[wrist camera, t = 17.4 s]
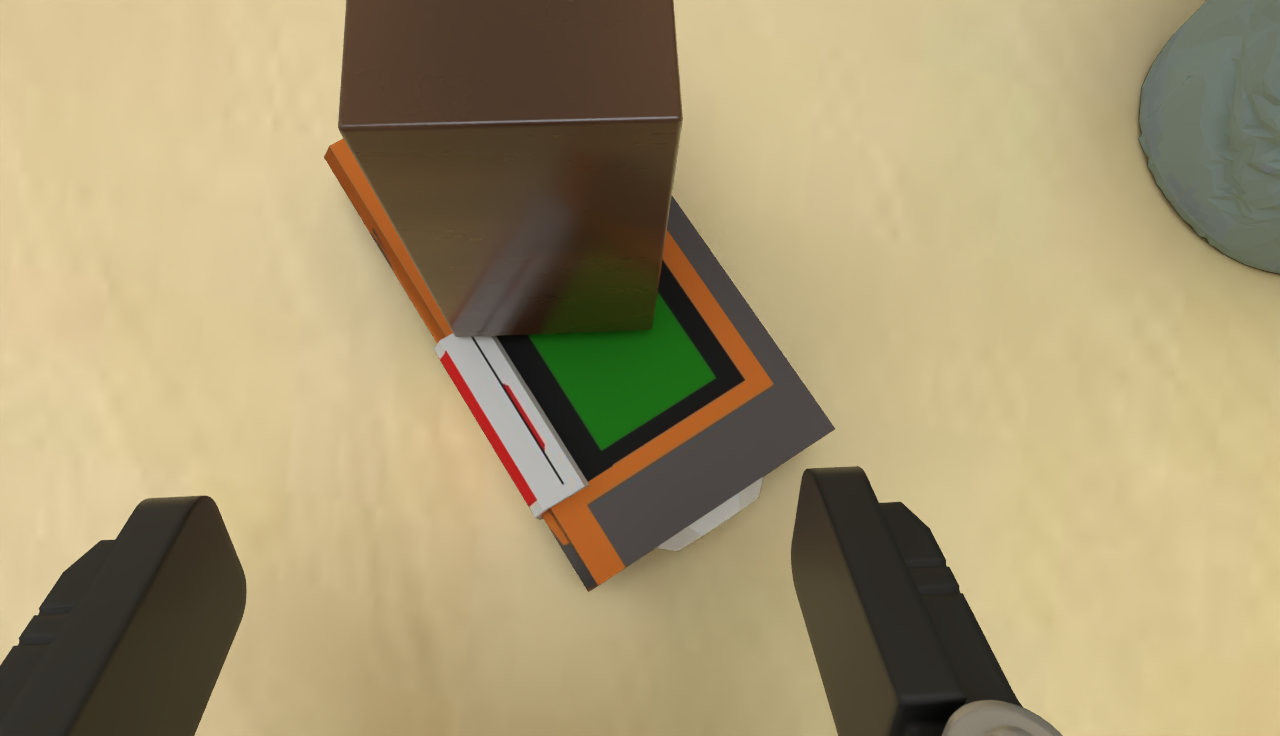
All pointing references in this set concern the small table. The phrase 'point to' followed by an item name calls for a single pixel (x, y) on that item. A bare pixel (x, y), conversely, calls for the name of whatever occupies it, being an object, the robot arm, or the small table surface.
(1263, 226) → the green cup
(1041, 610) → the small table surface
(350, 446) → the small table surface
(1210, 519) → the small table surface
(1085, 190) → the small table surface
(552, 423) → the electronic device
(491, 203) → the walnut block
